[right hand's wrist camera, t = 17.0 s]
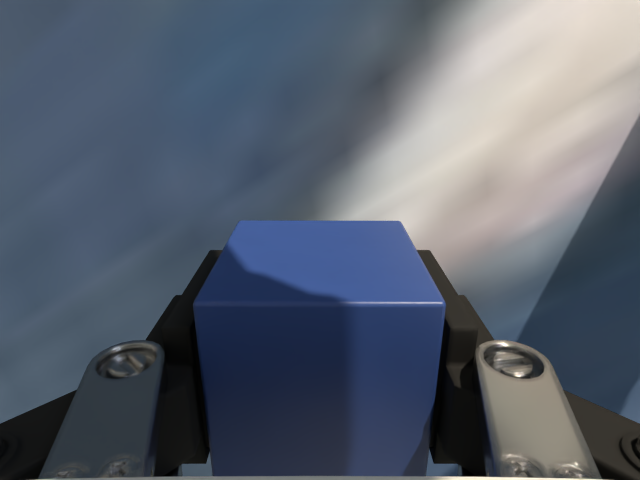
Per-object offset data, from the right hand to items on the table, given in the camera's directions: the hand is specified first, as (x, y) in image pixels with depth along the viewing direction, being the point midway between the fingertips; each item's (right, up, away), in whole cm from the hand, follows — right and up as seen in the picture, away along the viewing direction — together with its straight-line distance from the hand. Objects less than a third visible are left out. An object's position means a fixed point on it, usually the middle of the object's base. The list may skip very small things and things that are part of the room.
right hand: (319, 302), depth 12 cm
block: (0, 0, 0) cm, 0 cm away
